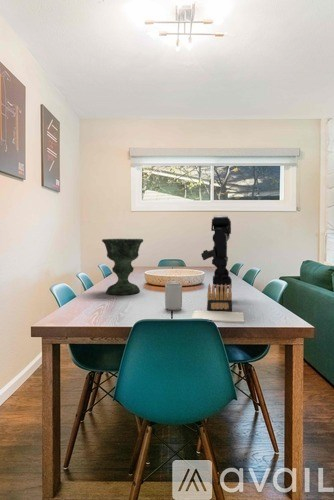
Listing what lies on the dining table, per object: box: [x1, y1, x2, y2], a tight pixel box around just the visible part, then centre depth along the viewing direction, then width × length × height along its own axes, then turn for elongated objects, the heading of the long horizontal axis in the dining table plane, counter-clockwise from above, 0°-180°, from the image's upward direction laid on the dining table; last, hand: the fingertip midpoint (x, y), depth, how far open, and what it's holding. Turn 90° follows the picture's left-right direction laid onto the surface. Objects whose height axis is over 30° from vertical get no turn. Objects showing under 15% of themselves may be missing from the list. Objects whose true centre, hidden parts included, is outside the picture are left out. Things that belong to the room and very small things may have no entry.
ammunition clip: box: [206, 283, 233, 312], centre depth 142 cm, size 11×2×12 cm, turn 89°
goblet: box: [101, 238, 144, 296], centre depth 185 cm, size 22×23×30 cm
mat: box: [190, 309, 245, 324], centre depth 133 cm, size 14×20×1 cm
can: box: [164, 280, 183, 311], centre depth 147 cm, size 8×8×12 cm
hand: (220, 278), depth 149 cm, fingers closed
